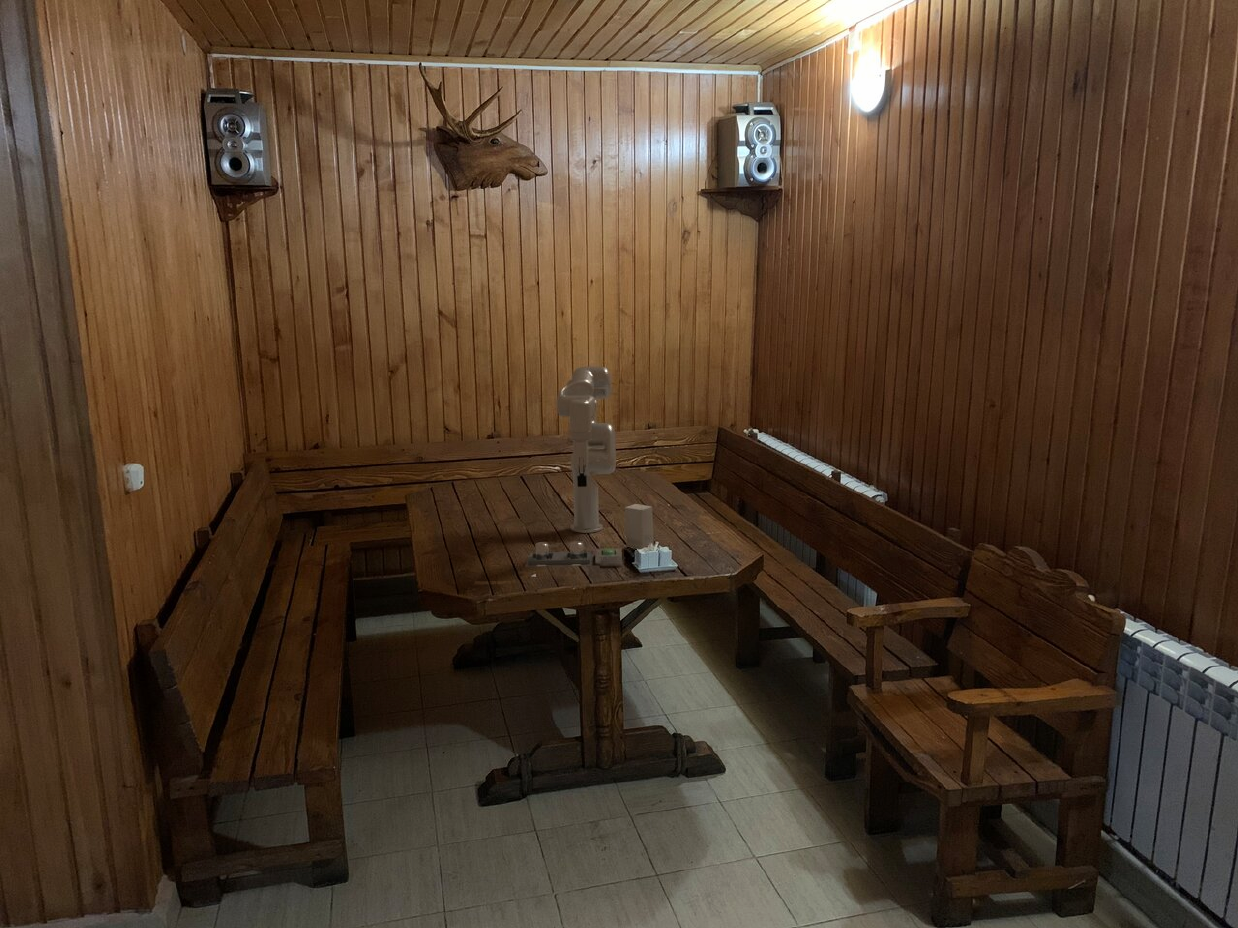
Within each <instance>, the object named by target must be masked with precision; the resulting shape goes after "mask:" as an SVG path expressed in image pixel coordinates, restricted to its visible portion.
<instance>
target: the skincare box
mask: <svg viewBox="0 0 1238 928" xmlns="http://www.w3.org/2000/svg"><path fill="white" fill-rule="evenodd" d="M624 520H625V523H624V524H625V540H626V541H625V543H626V548H627V547H633V548H642V547H646V546H648V545H649V543H654V523H653V521H654V520H653V506H650V505H645V504H644V505H643V504H638V503H634V504H631V505H628V506H625V507H624Z"/></svg>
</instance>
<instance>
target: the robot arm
mask: <svg viewBox="0 0 1238 928" xmlns="http://www.w3.org/2000/svg"><path fill="white" fill-rule="evenodd" d="M612 388H613V387H612V376H611V373H610V371H609V369H608V368H607V367H605V366H580V367H577V368H576V369H574V370H573V372H572V375H571V379H569V380H568V381H567V383H566V386H563V387H562V388H561V389H560V390H559V391H558V394H557V399H556V410H557V411H556V412H557V414H558V415H559V416H560V417H563V418H569V440H570V441H572V453H571V454H570V455H571V456H570V458H569V459H570V460H569V461H570V467H571V473H572V474H571V475H572V484H573V485H572V486H573V487H572V488H573V513H574V514H573V516H574V518H573V519H574V520H573V521H574V522H573V524H571V525H570V530H571V531H572V532H574V533H580V534H581V533H583V534H589V533H591V534H592V533H596V532H600V531H602V530H603V529H604V528H603V524H602V523H600V522H599V521H600V519H599V518H600V517H599V516H600V515H599V513H600V512H599V485H598V482H597V480H596V479H595V477H593V475H609V474H613V473H614V472H615V471H616V467H617V465H616V464H617V455H616V454H617V451H616V432H615V428H614V426H613V424H611V423H608V422H597V420H596V419H597V415H596V414H597V412H598V401H597V400H606V399H609V398H610V396H611V394H612V390H613V389H612ZM592 448H593V449H592ZM595 448H596V449H595ZM597 448H599V449H597ZM600 448H601V449H600Z"/></svg>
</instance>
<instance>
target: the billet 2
mask: <svg viewBox="0 0 1238 928" xmlns="http://www.w3.org/2000/svg"><path fill="white" fill-rule="evenodd" d="M569 543H570V544H569V546H570V551H569V552H570V553H571V559H584V553H583V552H584V541H579V540H574V541H570V542H569Z"/></svg>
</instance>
